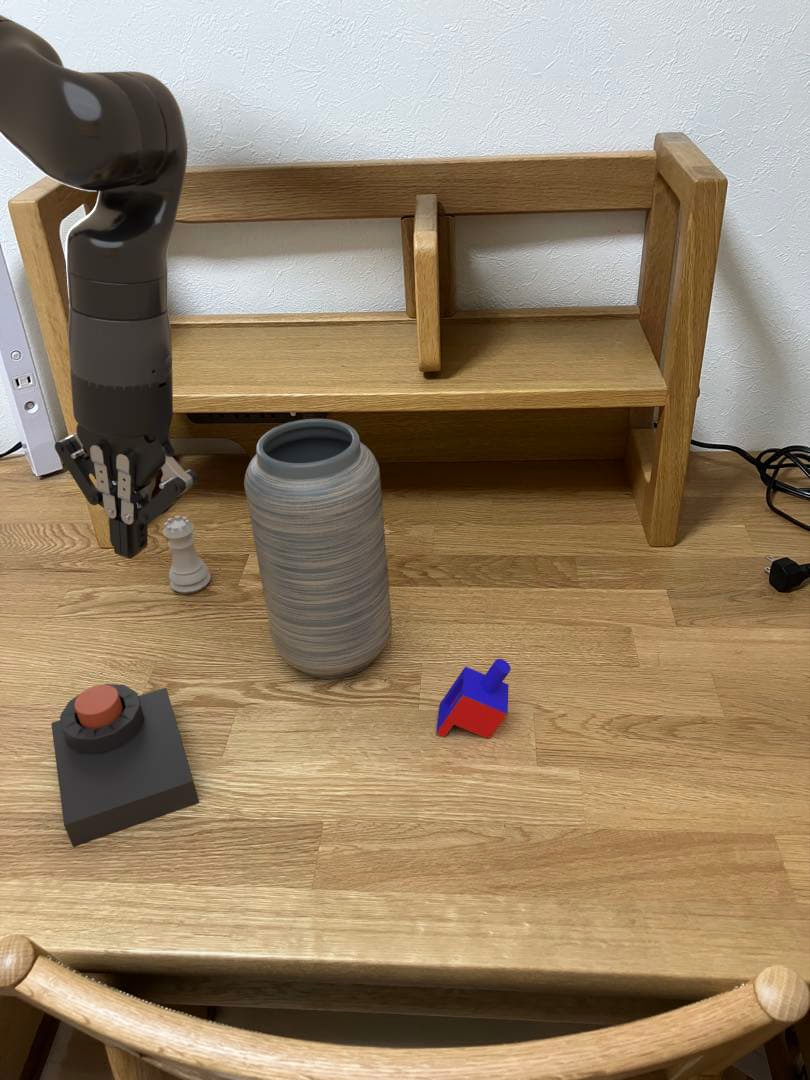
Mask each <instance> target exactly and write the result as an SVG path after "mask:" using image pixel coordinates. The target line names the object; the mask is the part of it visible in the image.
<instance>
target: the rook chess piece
mask: <svg viewBox="0 0 810 1080" xmlns="http://www.w3.org/2000/svg"><path fill="white" fill-rule="evenodd" d="M194 529H195V526H194V524H193V523H192V522H190V520H189V519H188V517H187V516H185V515H184V516H182V518H181V515H175V519H174V520H173V518H172V517H169V518H168V519H167V521H165V522H164V528H163V530H162V535H163V536H164V537H165V538H166V539H168V541H167V546H168V548H170V551H171V559H172V562H171V563H172V564H171V565H170V569H169V571H168V579H169V586H170V587H171V589H172V590H174V591H175V592H177V593H179V594H185V595H187V594H189V595H190V594H195V593H198V592H201V590H203V589H205V588H206V587H207V585H208V584H209V583H210V581H211V577H212V576H211V573H210V572H209V567H208V566H207V563H206V562H204V561H203V559H202V558H200V557H199V555H198V552H197V550H196V548H195V537H194V536H193V535H192V533H193V532H194Z"/></svg>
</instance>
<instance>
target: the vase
mask: <svg viewBox="0 0 810 1080" xmlns="http://www.w3.org/2000/svg"><path fill="white" fill-rule="evenodd" d="M360 439H361V438H360V436H359V434H358V431H356V429H355V428H354V427H352V426H351V425H349V424H347V423H345V422H342V421H338V420H334V419H329V418H305V419H297V420H294V421H289V422H286V423H283V424H280V425H278V426H275V427H273V428H271V429H270V430H268V431H267V432H265V434H263V435H261V437H260V438H259V440H258V442H257V444H256V447H255V448H256V450H255V452H256V454H255V455H254V456H253V458H251V460H250V462H249V464H248V466H247V468H246V470H245V474H244V482H243V485H244V491H245V496H246V503H247V508H248V509H247V510H248V513H249V520H250V525H251V530H252V531H251V532H252V535H253V536H252V537H253V543H254V548H255V553H256V559H257V563H258V564H257V565H258V570H259V575H260V581H261V586H262V592H263V597H264V604H265V609H266V613H267V620H268V625H269V631H270V637H271V641H272V645H273V647H274V649H275V650H276V653H278V655H279V656H280V657H281V659H282V660H284V661H285V663H287V664H289V665H290V666H292V667H293V668H295V669H297V670H299V671H300V672H301V673H302V674H304V675H308V677H312V678H316V679H323V680H334V679H342V678H346V677H350V676H353V675H355V674H358V673H359V672H361V671H363V670H364V669H366V668H368V667H369V665H370V664H371V663H372V662H373V661H374V660H375V659H376V658H377V657H378V656H379V655H380V654H381V653H382V651H383V650H384V649H385V647H386V646H387V644H388V642H389V640H390V637H391V635H392V627H393V620H392V606H391V593H390V583H389V569H388V568H389V567H388V556H387V545H386V534H385V533H386V531H385V520H384V509H383V495H382V484H381V483H382V482H381V473H380V466H379V462H378V461H377V459H376V457H375V455H374V453H373V452H372V451H371V450H370V449H369V448H368V446H366V445H365V444H364V443H363V442H361V441H360Z"/></svg>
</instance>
